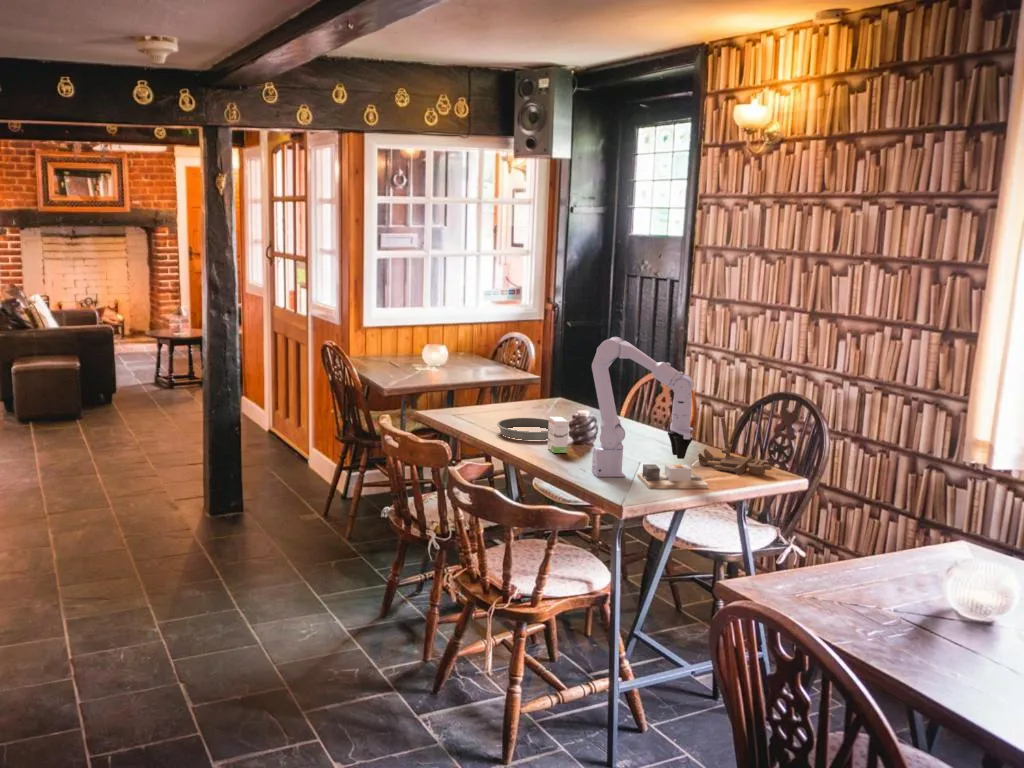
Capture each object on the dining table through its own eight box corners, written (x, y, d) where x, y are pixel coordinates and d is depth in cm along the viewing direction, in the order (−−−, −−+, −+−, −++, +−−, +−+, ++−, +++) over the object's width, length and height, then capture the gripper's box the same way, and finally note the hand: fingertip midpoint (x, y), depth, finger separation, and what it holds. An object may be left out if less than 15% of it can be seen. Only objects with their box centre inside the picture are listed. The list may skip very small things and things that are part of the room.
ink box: (567, 454, 331) (569, 421, 329) (553, 454, 330) (555, 421, 328) (559, 448, 339) (561, 416, 337) (546, 448, 338) (548, 416, 336)
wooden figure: (705, 413, 326) (774, 418, 310) (712, 460, 331) (780, 467, 315) (685, 429, 316) (755, 435, 300) (692, 477, 321) (761, 486, 305)
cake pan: (483, 432, 360) (484, 421, 359) (534, 426, 375) (534, 415, 374) (523, 446, 341) (524, 434, 340) (575, 439, 356) (575, 427, 355)
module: (669, 481, 297) (669, 468, 296) (664, 476, 302) (665, 463, 301) (690, 481, 298) (691, 468, 297) (685, 476, 303) (686, 463, 302)
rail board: (648, 488, 292) (649, 471, 291) (637, 476, 305) (638, 461, 304) (707, 488, 295) (709, 472, 294) (694, 477, 307) (695, 461, 306)
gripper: (701, 419, 290) (698, 462, 292) (686, 409, 304) (683, 451, 306) (679, 419, 289) (676, 462, 291) (665, 409, 303) (662, 451, 305)
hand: (678, 456), depth 298 cm, fingers open, 4 cm apart
